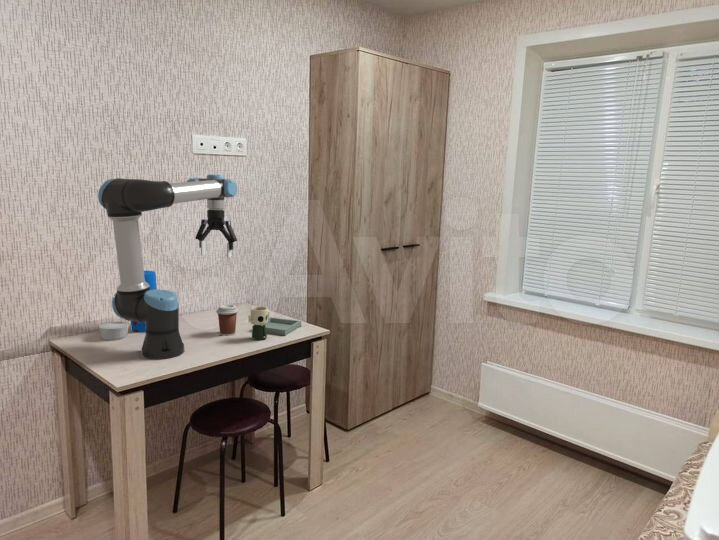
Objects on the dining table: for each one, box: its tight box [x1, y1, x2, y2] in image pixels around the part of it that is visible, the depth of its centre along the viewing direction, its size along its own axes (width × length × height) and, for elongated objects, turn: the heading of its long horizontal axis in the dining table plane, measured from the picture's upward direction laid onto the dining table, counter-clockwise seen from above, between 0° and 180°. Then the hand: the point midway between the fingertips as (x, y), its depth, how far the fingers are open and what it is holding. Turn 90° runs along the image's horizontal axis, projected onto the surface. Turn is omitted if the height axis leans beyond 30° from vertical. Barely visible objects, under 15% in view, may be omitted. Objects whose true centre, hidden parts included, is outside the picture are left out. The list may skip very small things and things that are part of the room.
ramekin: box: [98, 321, 130, 341], centre depth 212 cm, size 11×11×5 cm
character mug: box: [247, 306, 271, 340], centre depth 214 cm, size 11×7×13 cm, turn 140°
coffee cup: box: [215, 304, 239, 337], centre depth 220 cm, size 9×9×12 cm
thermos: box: [130, 270, 158, 333], centre depth 222 cm, size 11×11×25 cm
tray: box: [251, 316, 302, 337], centre depth 230 cm, size 16×16×2 cm
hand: (216, 256), depth 235 cm, fingers open, 13 cm apart
